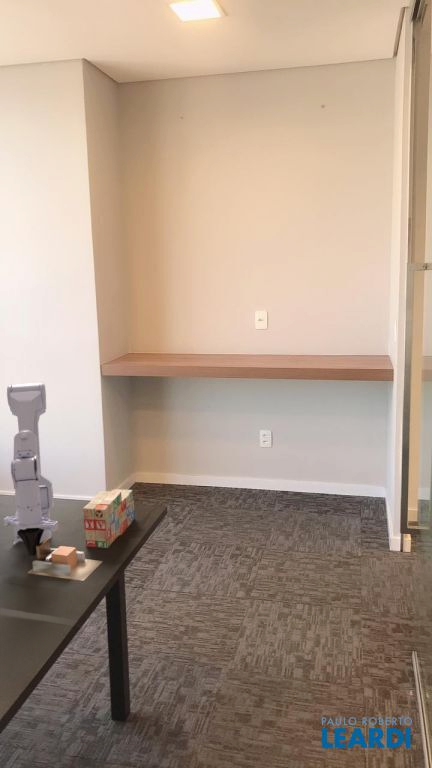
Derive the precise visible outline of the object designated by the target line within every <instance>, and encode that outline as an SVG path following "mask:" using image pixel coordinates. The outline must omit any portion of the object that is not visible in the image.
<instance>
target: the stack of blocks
mask: <svg viewBox="0 0 432 768" xmlns="http://www.w3.org/2000/svg"><path fill="white" fill-rule="evenodd" d="M133 493H134V492H133V489H117V488H115V489H112V490H111V491H109V490H108V491H107V490H101V491H99V492H98V493H97V494H96V495H95V497H93V498H92V499H91V500H90V501H89V502H88V503H87V504H86V505H85V506H84V507H83V523H84V524H83V525H84V533H85V547H91V548H104V549H105V548H106V549H108V548H109V547H110V546H111V544H113V542H114V541H115V540H116V539H117V538H118V537H119V536H122V535H123V534H124V532H125V531H126V530H127V528H129V526H130V525H131V524H132V523H133V521H134V520H135V518H136V517H135V504H134V503H135V500H134V494H133Z"/></svg>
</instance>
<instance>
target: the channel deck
mask: <svg viewBox="0 0 432 768" xmlns="http://www.w3.org/2000/svg"><path fill="white" fill-rule="evenodd" d="M57 548H58V547H56V548H54V547H50V550H51V553H52V552H53V551H55V550H56V549H57ZM76 554H77V565H76V566H74V567H73V568H72V569H71V568H70V565H66V564H59V563H51V562H44V561H37V560H33V561H32V568H31V569H30V570H29V571H28V572H27V574H33V575H37V576H38V575H39V576H47V577H51V578H52V577H53V578H61V579H66V580H67V579H68V580H72V581H80V582H83V581H84V582H85V580H86V579H87V578H88V577H89V576H90V575H91V574H92V573H93V572H94V571H95V570H96V569H97V568H98V567H99V566H100V565H101V564H103V560H95V559H90V558H89V559H88V558H86V555H85V554H86V553H85V551H79V550H76Z"/></svg>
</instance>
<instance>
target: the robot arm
mask: <svg viewBox="0 0 432 768" xmlns="http://www.w3.org/2000/svg"><path fill="white" fill-rule="evenodd" d="M6 388H7V389H6V397H7V403H8V406H9V410H10V412H11V414H12V416H15V417H17V426H18V432H17V433H16V434H15V435H14V437H13V460H11V463H10V475H11V479H12V484H13V489H14V491H15V492H14V505H15V511H16V512H15V514H14V516H13V515H12V516H11V515H8V516H6V517H5V518H3V526H4V527H10V526H11V527H13V532H14V542H13V545H16V544H18V543H19V542H23V543H24V547H25V548H26V550H27V553H28V555H29V556H30V557H35V556H37V550H36V546H37V545H38V544H40V543H41V542H42V541H43V540H45V539H46V538H49V539H50V540H51V539H52V532H53V533H54V532H56V531H58V530H59V521H56V520H51V515H50V514H51V513H50V510H51V509H52V508H53V507H54V505H55V503H54V502H55V501H54V490H53V483H52V481H51V479H49V478H48V477H46V476H44V474H42V469H41V468H42V467H41V450H40V449H41V448H40V436H39V435H40V432H39V431H40V430H39V421H40V417H41V416H42V415H43V414H45V413H47V412H46V410H47V391H46V384H45V383H44V382H38V383H35V382H34V383H33V382H32V383H23V384H22V383H21V384H9V385H8V386H7V387H6Z"/></svg>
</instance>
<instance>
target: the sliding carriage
mask: <svg viewBox="0 0 432 768" xmlns="http://www.w3.org/2000/svg"><path fill="white" fill-rule="evenodd" d="M50 548H51V538H50V539H49V538H46V539H45V540H43V541H42V542H41V543H40V544H38V545H37V546H36V550H37V554H36V558H37V560H36V561H44V562H51V563H52V557H51V554H52V553H53V552H54V551H53V552H52V553H51V550H50Z"/></svg>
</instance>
